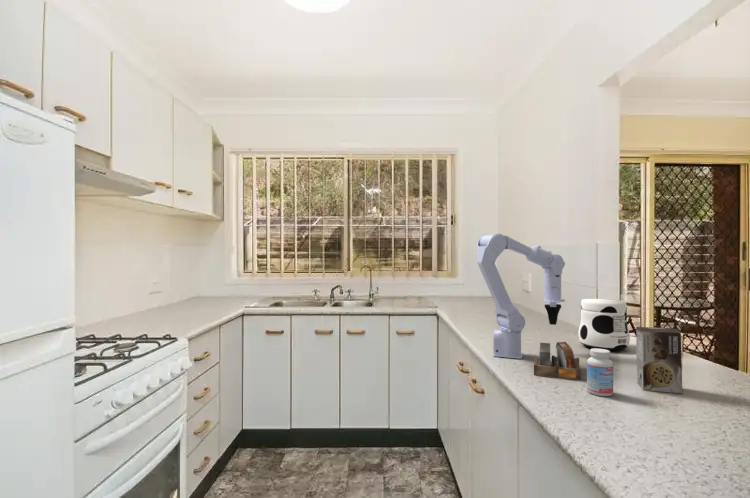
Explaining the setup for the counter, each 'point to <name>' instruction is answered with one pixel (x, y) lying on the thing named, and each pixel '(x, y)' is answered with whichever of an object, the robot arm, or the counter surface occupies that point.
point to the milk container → (604, 324)
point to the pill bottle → (600, 373)
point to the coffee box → (659, 359)
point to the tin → (565, 355)
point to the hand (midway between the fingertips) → (552, 324)
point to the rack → (554, 365)
